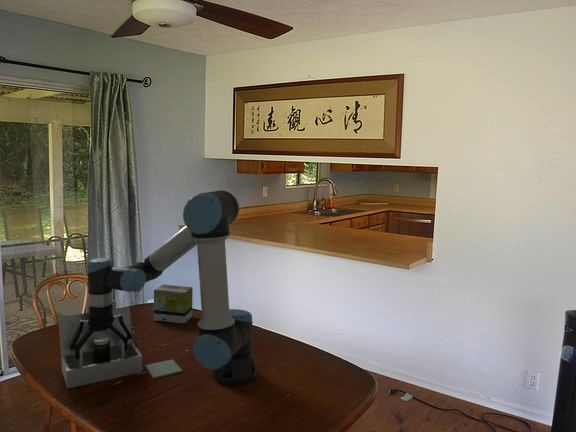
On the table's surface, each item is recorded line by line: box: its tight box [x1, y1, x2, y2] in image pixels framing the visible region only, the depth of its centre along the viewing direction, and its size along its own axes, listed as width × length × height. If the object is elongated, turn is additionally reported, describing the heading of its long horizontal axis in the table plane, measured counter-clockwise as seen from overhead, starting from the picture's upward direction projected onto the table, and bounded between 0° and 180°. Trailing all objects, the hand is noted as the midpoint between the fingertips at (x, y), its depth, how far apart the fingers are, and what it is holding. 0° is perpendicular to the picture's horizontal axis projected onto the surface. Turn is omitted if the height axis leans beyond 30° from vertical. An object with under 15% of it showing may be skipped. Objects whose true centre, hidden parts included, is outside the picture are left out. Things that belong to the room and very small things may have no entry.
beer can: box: [93, 336, 111, 364], centre depth 161 cm, size 5×5×12 cm
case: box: [58, 306, 143, 389], centre depth 163 cm, size 18×25×18 cm
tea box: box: [153, 283, 194, 325], centre depth 214 cm, size 15×10×15 cm
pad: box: [145, 359, 183, 380], centre depth 165 cm, size 10×10×1 cm
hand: (102, 363), depth 161 cm, fingers open, 13 cm apart
